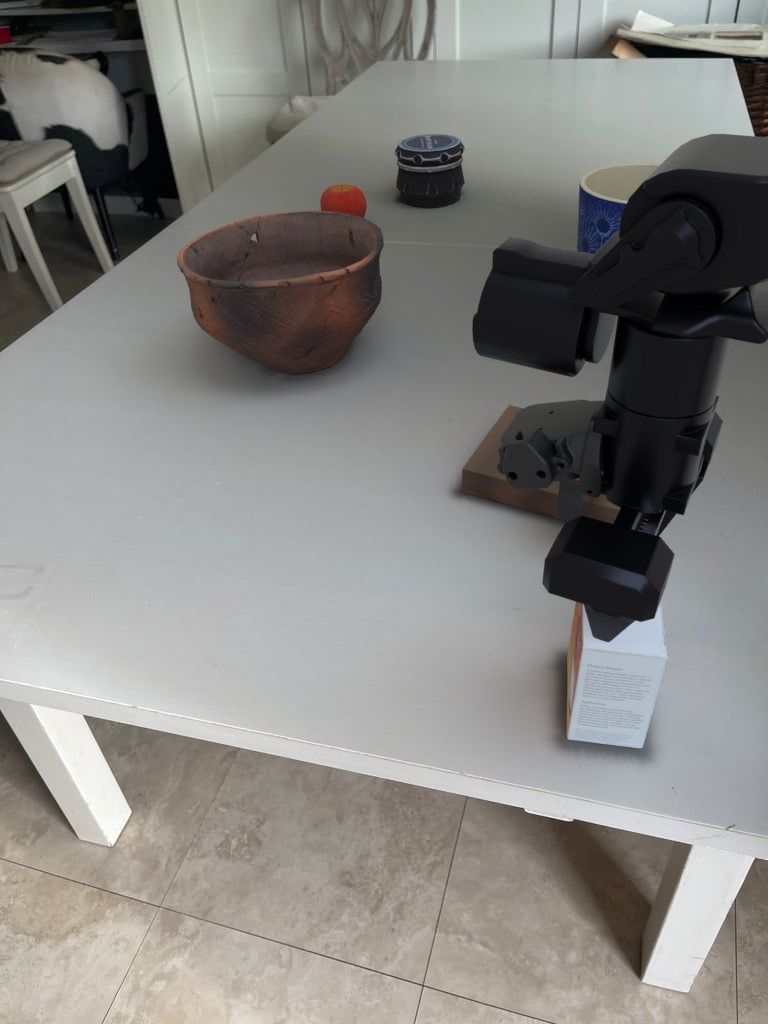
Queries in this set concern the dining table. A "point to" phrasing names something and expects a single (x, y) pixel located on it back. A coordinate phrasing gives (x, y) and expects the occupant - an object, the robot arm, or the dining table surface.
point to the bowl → (286, 286)
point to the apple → (344, 200)
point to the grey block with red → (571, 501)
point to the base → (492, 485)
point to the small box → (614, 681)
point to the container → (430, 170)
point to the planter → (606, 201)
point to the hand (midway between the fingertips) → (621, 591)
